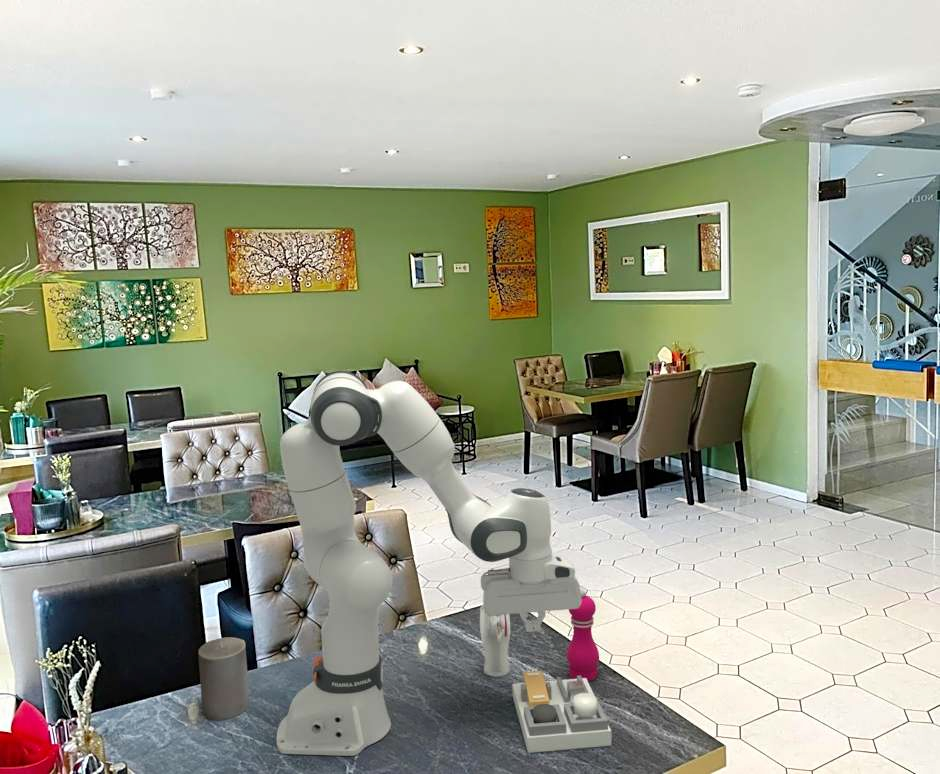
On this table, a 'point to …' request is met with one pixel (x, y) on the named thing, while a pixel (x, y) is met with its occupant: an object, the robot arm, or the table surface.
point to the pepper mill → (583, 641)
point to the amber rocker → (535, 688)
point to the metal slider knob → (574, 689)
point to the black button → (544, 713)
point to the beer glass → (495, 643)
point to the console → (561, 721)
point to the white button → (585, 705)
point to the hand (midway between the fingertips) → (533, 630)
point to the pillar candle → (223, 678)
